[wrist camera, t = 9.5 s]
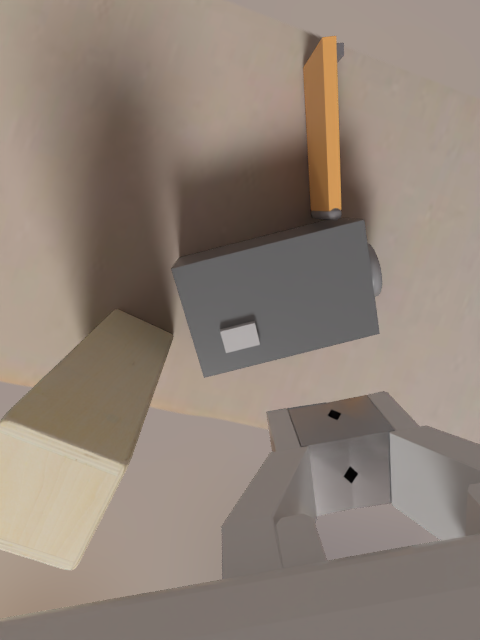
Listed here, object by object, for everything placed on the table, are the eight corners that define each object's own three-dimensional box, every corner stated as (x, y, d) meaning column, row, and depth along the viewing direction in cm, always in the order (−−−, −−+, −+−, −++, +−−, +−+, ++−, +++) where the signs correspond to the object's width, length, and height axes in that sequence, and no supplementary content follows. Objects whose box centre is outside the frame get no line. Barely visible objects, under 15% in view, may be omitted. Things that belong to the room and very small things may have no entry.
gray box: (351, 213, 36) (385, 215, 29) (365, 308, 39) (399, 331, 32) (179, 257, 36) (170, 270, 29) (206, 348, 39) (203, 380, 32)
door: (329, 217, 36) (351, 218, 30) (311, 219, 36) (329, 221, 30) (323, 65, 32) (347, 34, 26) (303, 67, 32) (322, 37, 26)
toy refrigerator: (108, 302, 37) (-15, 412, 17) (175, 332, 39) (132, 467, 19) (80, 367, 39) (-62, 535, 19) (144, 394, 41) (75, 577, 20)
